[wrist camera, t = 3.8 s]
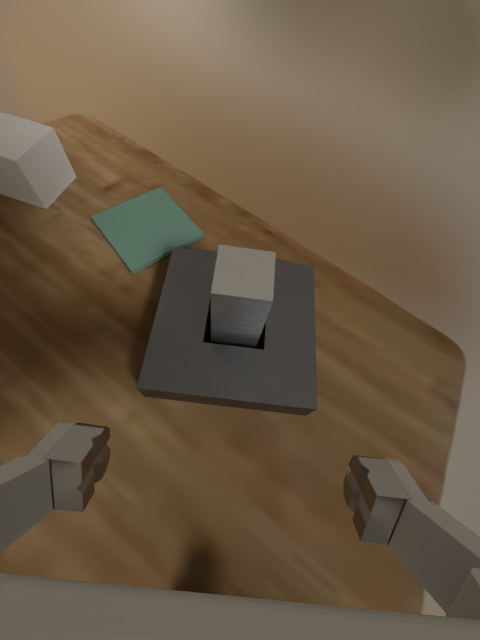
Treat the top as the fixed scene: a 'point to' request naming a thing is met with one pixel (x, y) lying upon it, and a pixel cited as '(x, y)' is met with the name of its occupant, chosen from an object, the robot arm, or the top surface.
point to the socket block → (231, 361)
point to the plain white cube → (32, 162)
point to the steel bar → (241, 295)
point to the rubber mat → (146, 229)
